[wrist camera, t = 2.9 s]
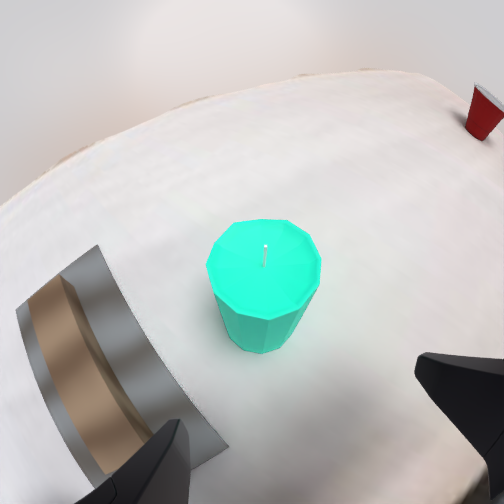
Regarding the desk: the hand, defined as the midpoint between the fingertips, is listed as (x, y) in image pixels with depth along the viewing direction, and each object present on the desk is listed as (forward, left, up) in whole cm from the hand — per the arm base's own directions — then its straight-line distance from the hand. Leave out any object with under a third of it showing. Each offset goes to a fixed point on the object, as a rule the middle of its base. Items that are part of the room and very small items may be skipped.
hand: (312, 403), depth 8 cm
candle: (+6, +4, -13) cm, 15 cm away
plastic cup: (+61, -31, -13) cm, 70 cm away
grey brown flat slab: (-5, +16, -13) cm, 21 cm away
